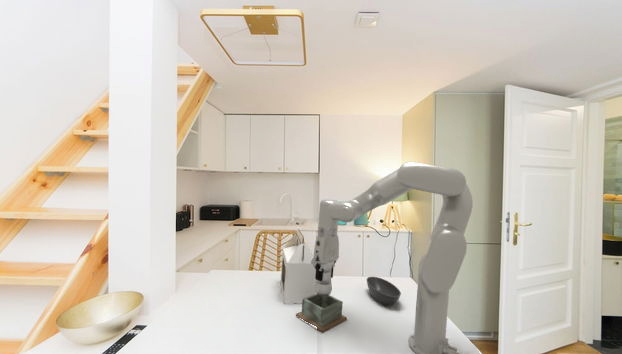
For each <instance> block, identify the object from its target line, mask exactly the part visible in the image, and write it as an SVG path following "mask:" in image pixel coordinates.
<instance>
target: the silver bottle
mask: <svg viewBox="0 0 622 354" xmlns="http://www.w3.org/2000/svg"><path fill="white" fill-rule="evenodd" d="M318 261H319V259H318ZM318 264H319V266H320V263H318ZM332 265H333V257H332V256H330V259H329V263H326V264H323V268H322V271H323V278H322V281H321V282H320V281H318V280H316V283H315V294H318V295H320V296H328V295H330V296H331V294H332V289H333V286H332V278H331V271H332Z"/></svg>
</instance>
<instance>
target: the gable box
mask: <svg viewBox="0 0 622 354" xmlns="http://www.w3.org/2000/svg"><path fill="white" fill-rule="evenodd" d="M304 239H305V237H304V235H303V233H302V232H301V231H300V229H297V232H296V231H294V235H293V236H292V237H291V238H290V239H289V241H288V242H287V243H286V245H285V246H284V247H283V248H282V255H281V257H282V258H281V268H280V269H281V273H280V287H281V288H280V289H281V293H282V300H283V304H284V305H288V303H302V300H303V298H306V297H309V296H311V295H314V294H316V292H315V283H316V279H315V274H316V269H315V267H314V266H313V265H312V264H311V261H312V259H313V257H314V254H313V253H312V251H311V249H310V248H309V245H307V244H306V242H305V240H304Z"/></svg>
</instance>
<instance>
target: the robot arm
mask: <svg viewBox="0 0 622 354" xmlns="http://www.w3.org/2000/svg"><path fill="white" fill-rule="evenodd" d="M412 190H416V191H417V190H418V191H421V192H426V193H430V194H431V193H432V194H435V195H440V196H442V206H441V208H440V211H439V215H438V217H437V221H436V223H435V225H434V227H433V229H432V231H431V234H430V244H429V247H428V248H427V249H428V250H427V253H425V254H424V255H423V256H422V257H421V258H420V260H419V263H418V267H417V268H418V270H417V273H418V274H417V289H416V290H417V291H416V302H415V303H416V305H415V318H414V329H413V334H412V335H409V338H408V345H409V347H410V349H411V350H412V351H413V352H414V353H415V354H460V352H458V348H457V347H455V346H453V345H450V343H449V338H448V337H446V336H447V335H446V333H447V322H448V321H447V320H448V308H449V297H450V296H449V295H450V290H451V289H452V288H453V286H454V284H455V282H456V280H457V277H458V275H459V273H460V269H461V267H462V265H463V262H464V259H465V258H466V257H465V256H466V255H467V249H468V247H467V246H468V245H467V244H468V243H467V240H466V237H465V233H466V229H467V227H468V224H469V220H470V217H471V214H472V211H473V196H472V192H471V190H470V187H469V186H468V184H467V179H466V176H465V174H463V173H462V172H461V171H460V170H458V169H456V168H454V167H453V168H452V167H446V166H439V165H435V164H434V165H432V164H427V163H421V162H416V161H408V162H405V163H403V164H401V165H400V167H399V168H397V169H396V170H394V171H393V172H391V173H389V174H388V175H386V176H384V177H382V178H380V179H378V180H377V181H376V182H373V184H371V186H370V187H369V188H368V189H366V190H365V191H363V192H362V193H361V194H359V195H357V196H355V197H354V198H351V200H348V201H343V202H342V201H338V200H334V199H321V200H320V202H319V211H318V225H317V231H316V233H317V234H316V238H315V243H314V249H313V259H312V261H311V264H312V265H313V266H314V267H315V269H316V274H315V279H316V280H318V281H320V282H321V281H322V278H323V271H322V268H323V264H326V263H329V259H330V256H332V257H333V265H332V271H331V279H333V278H334V268H335V267H336V265H335V264H336V263H337V261H338V260H339V258H340V256H339V255H340V253H339V252H340V250H339V249H340V241H339V240H340V239H339V235H338V227H339V222H342V223H352V222H354V221H355V220H356V219H358V218H360V217H362V216H364V215H366V214H367V213H369V212H370V211H372V210H375V209H377V208H378V207H381V206H384V205H387V204H389V203H390V202H392V201H393V200H396V199H397V198H400V197H401V196H404V195H405V194H406V193H408V192H410V191H412ZM318 259H319V261H318ZM318 263H320V266H319V264H318Z"/></svg>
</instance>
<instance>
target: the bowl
mask: <svg viewBox="0 0 622 354" xmlns="http://www.w3.org/2000/svg"><path fill="white" fill-rule="evenodd" d="M366 285H367V288H368V290H369V292H370V294H371V297H372V298H373V299H374V300H375V301H376V302H377V303H378V304H380V305H382V306H384V307H387V306H388V307H387V308H391V307H393V306H394V305H396V304H397V303H398V301H399V299H400V297H401V295H402V292H401V291H400V289H399V288H398V287H397V286H396V285H395V284H393V283H391V282H390V281H388V280H386V279H383V278H381V277H377V276H368V277H367V278H366Z"/></svg>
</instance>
